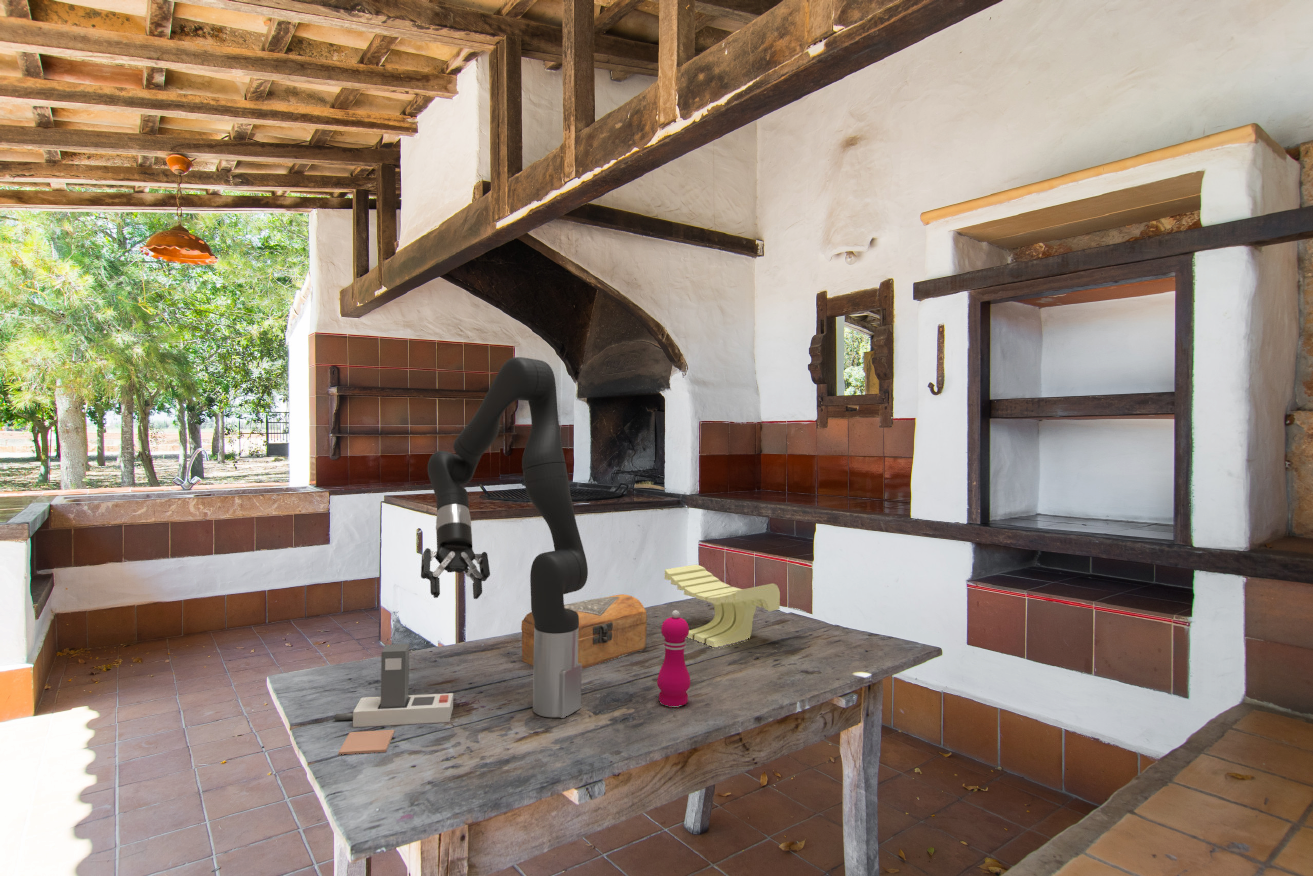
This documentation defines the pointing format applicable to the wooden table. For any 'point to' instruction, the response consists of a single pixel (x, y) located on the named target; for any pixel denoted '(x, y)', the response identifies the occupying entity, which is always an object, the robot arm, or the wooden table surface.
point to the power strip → (401, 711)
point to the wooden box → (599, 629)
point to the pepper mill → (674, 662)
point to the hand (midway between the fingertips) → (457, 597)
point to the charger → (394, 676)
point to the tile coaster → (367, 742)
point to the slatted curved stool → (723, 604)
